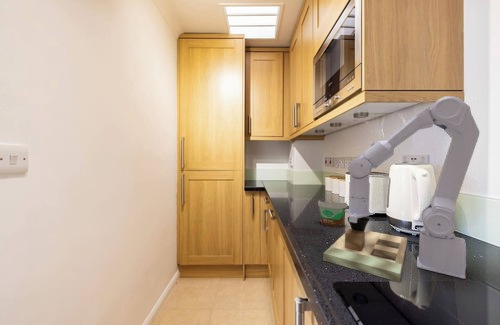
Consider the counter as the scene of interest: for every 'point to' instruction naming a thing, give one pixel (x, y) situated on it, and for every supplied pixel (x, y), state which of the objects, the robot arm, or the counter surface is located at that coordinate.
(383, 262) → the board
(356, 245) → the block
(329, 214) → the food container
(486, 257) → the counter surface
